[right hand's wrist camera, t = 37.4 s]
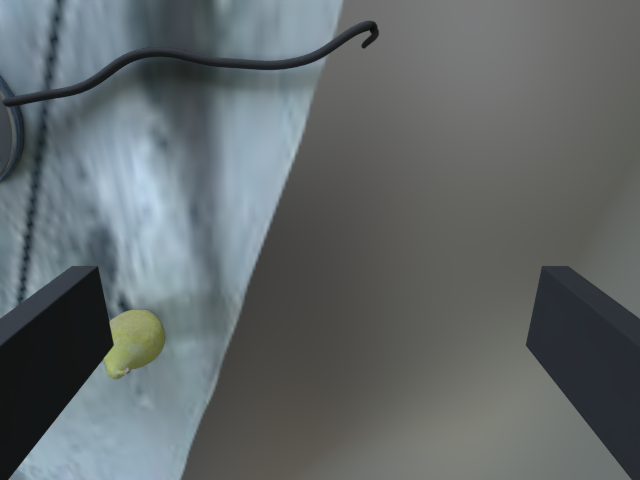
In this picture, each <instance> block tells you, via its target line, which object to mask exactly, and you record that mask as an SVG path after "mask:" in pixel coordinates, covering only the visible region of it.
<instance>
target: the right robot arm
mask: <svg viewBox="0 0 640 480" xmlns="http://www.w3.org/2000/svg"><path fill="white" fill-rule="evenodd" d="M369 30H370V32H371V35H370V36H369V37H368V38H367V39H366V40H365V41H364V42H363V43H362V45H361V47H362V48H363V49H364V48H366V47H367V46H368V45H370V44H371V43H372V42H374V41H375V40H376V39H377V37H378V36H379V30H378V27H377V24H376V23H375V22H374V21H365V22H362V23H359V24H357V25H355V26H353V27H351V28H350V29H348V30H346V31H345V32H343V33H342V34H340V35H339V36H338V37H336V38H335V39H333V40H332V41H331V42H329V43H328V44H326V45H325V46H323V47H322V48H320V49H318V50H316V51H314V52H312V53H310V54H308V55H305V56H301V57H297V58H293V59H287V60H278V61H257V60H243V59H228V58H216V57H210V56H205V55H200V54H196V53H192V52H188V51H183V50H179V49H173V48H164V47H153V48H144V49H139V50H135V51H132V52H129V53H127V54H125V55H123V56H121V57H119V58H117V59H116V60H114V61H113V62H112V63H110V64H109V65H108V66H106V67H105V68H104V69H102V70H101V71H100V72H98V73H97V74H95V75H94V76H93V77H91V78H89V79H87V80H86V81H84V82H81V83H79V84H76V85H73V86H70V87H66V88H61V89H54V90H47V91H41V92H36V93H31V94H26V95H21V96H16V97H14V96H13V94H12V92H11V91H10V89H9V87H8V86H7V84H6V83H5V81H4V80H3V79H2V77H1V76H0V181H2V180H3V179H4V178H6V177H7V176H8V175H9V174H10V173H11V172H12V170H13V169H14V168H15V166H16V164H17V163H18V161H19V158H20V156H21V153H22V148H23V141H24V130H23V122H22V117H21V114H20V110H19V108H18V105H22V104H27V103H32V102H37V101H42V100H48V99H54V98H61V97H67V96H72V95H76V94H79V93H82V92H84V91H87V90H89V89H91V88H93V87H95V86H97V85H98V84H100V83H101V82H103V81H104V80H106V79H107V78H108V77H110V76H111V75H112V74H114V73H115V72H116V71H118V70H119V69H121V68H122V67H124V66H125V65H127V64H129V63H131V62H133V61H136V60H139V59H143V58H147V57H158V56H160V57H172V58H178V59H182V60H187V61H191V62H195V63H199V64H203V65H209V66H215V67H226V68H242V69H256V70H280V69H288V68H294V67H299V66H303V65H306V64H309V63H312V62H314V61H317V60H319V59H321V58H322V57H324V56H326V55H327V54H329V53H331V52H332V51H333V50H335V49H336V48H338V47H339V46H341V45H342V44H344V43H345V42H346V41H348V40H349V39H351V38H353V37H354V36H356V35H358V34H360V33H362V32H365V31H369ZM113 346H114V342H113V337H112V332H111V328H110V323H109V318H108V313H107V308H106V303H105V298H104V294H103V289H102V284H101V279H100V274H99V269H98V266H72V267H70V268H69V269H67V270H66V271H65V272H63V273H62V274H61V275H59V276H58V277H57V278H55V279H54V280H52V281H51V282H50V283H48V284H47V285H46V286H44V287H43V288H42V289H40V290H39V291H37V292H36V293H35V294H33V295H32V296H31V297H29V298H28V299H27V300H25V301H24V302H22V303H21V304H20V305H18V306H17V307H16V308H14V309H13V310H12V311H10V312H9V313H7V314H6V315H5V316H3V317H2V318H1V319H0V480H8V479H9V478H10V477H11V475H12V474H13V473H14V472H15V470H16V469H17V468H18V467H19V465H20V464H21V463H22V461H23V460H24V459H25V458H26V456H27V455H28V454H29V453H30V451H31V450H32V449H33V448H34V446H35V445H36V444H37V442H38V441H39V440H40V439H41V437H42V436H43V435H44V434H45V432H46V431H47V430H48V428H49V427H50V426H51V425H52V423H53V422H54V421H55V420H56V418H57V417H58V416H59V415H60V413H61V412H62V411H63V409H64V408H65V407H66V406H67V404H68V403H69V402H70V401H71V399H72V398H73V397H74V396H75V394H76V393H77V392H78V390H79V389H80V388H81V387H82V385H83V384H84V383H85V382H86V380H87V379H88V378H89V376H90V375H91V374H92V373H93V371H94V370H95V369H96V368H97V366H98V365H99V364H100V363H101V361H102V360H103V359H104V357H105V356H106V355H107V354H108V352H109V351H110V350H111V349H112V347H113ZM526 346H527V347H528V348H529V350H530V351H531V352H532V354H533V355H534V356H535V357H536V359H537V360H538V361H539V363H540V364H541V365H542V366H543V368H544V369H545V370H546V371H547V373H548V374H549V375H550V376H551V378H552V379H553V380H554V382H555V383H556V384H557V385H558V386H559V388H560V389H561V390H562V392H563V393H564V394H565V396H566V397H567V398H568V399H569V401H570V402H571V403H572V404H573V406H574V407H575V408H576V409H577V411H578V412H579V413H580V415H581V416H582V417H583V418H584V420H585V421H586V422H587V423H588V425H589V426H590V427H591V428H592V430H593V431H594V432H595V434H596V435H597V436H598V437H599V439H600V440H601V441H602V442H603V444H604V445H605V446H606V448H607V449H608V450H609V451H610V453H611V454H612V455H613V456H614V458H615V459H616V460H617V461H618V463H619V464H620V465H621V467H622V468H623V469H624V470H625V472H626V473H627V474H628V475H629V477H630V478H631V479H632V480H640V319H639V318H638V317H637V316H635V315H634V314H633V313H631V312H630V311H628V310H627V309H626V308H624V307H623V306H622V305H620V304H619V303H618V302H616V301H615V300H613V299H612V298H611V297H609V296H608V295H607V294H605V293H604V292H602V291H601V290H600V289H598V288H597V287H596V286H594V285H593V284H592V283H590V282H589V281H588V280H586V279H585V278H583V277H582V276H581V275H579V274H578V273H577V272H575V271H574V270H572V269H571V268H570V267H568V266H542V269H541V274H540V279H539V284H538V289H537V294H536V298H535V303H534V308H533V313H532V318H531V323H530V328H529V332H528V337H527V342H526Z"/></svg>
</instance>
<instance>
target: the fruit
mask: <svg viewBox="0 0 640 480" xmlns="http://www.w3.org/2000/svg"><path fill="white" fill-rule="evenodd" d="M109 323H110V328H111V332H112V337H113V342H114V346H113V347H112V349H111V350H110V351H109V352H108V354H107V355H106V356H105V357H104V362H105V366H106V371H107V373H108V375H109V376H110V377H111V378H113V379H119V378H121V377H122V376H123V375H125V374H127V373H129V372H130V370H131V369H136V368H139V367H142V366H144V365H146V364H148V363H150V362H151V361H152V360H154V359H155V358H156V357H157V356H158V355H159V354H160V352H161V351H162V349H163V346H164V343H165V333H164V329H163V326H162V323H161V321H160V320H159V319H158V317H157V316H155V315H154V314H153V313H152V312H150V311H147V310H142V309H136V310H129V311H126V312H124V313H121V314H120V315H118V316H116V317H115V318H113V319H112V320H111V321H110V322H109Z"/></svg>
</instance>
